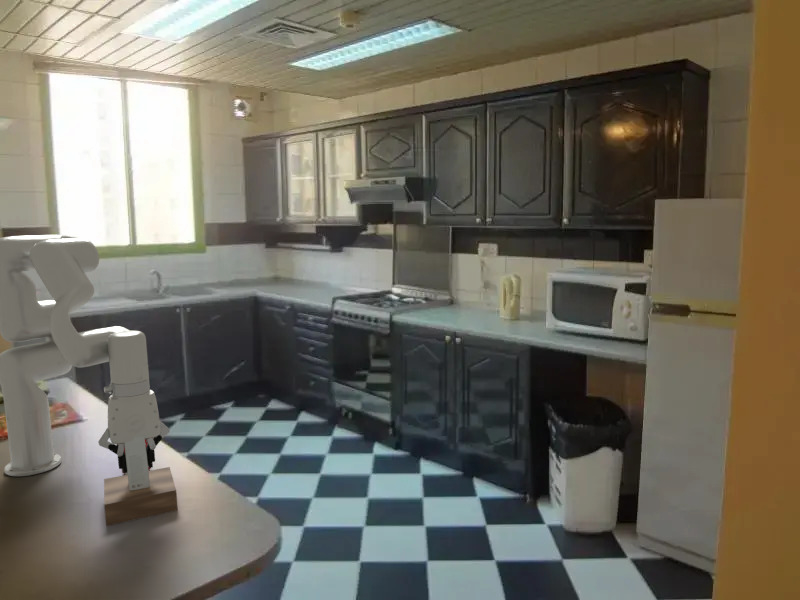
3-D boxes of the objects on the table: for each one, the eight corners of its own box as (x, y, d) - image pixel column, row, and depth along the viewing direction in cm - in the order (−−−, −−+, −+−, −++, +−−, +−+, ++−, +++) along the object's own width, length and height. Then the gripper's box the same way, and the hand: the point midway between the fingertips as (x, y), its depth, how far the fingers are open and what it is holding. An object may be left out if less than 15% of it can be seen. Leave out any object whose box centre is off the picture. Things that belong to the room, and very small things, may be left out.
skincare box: (150, 487, 133) (146, 434, 131) (128, 492, 131) (123, 438, 129) (148, 477, 138) (144, 425, 137) (127, 481, 136) (122, 429, 135)
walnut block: (105, 499, 138) (104, 479, 138) (171, 486, 145) (169, 466, 144) (106, 527, 126) (104, 504, 125) (177, 511, 132) (176, 490, 131)
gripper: (88, 399, 124) (96, 483, 127) (175, 385, 133) (180, 465, 135) (85, 390, 130) (93, 471, 133) (168, 378, 139) (173, 454, 142)
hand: (137, 467), depth 134 cm, fingers closed on skincare box, 4 cm apart
